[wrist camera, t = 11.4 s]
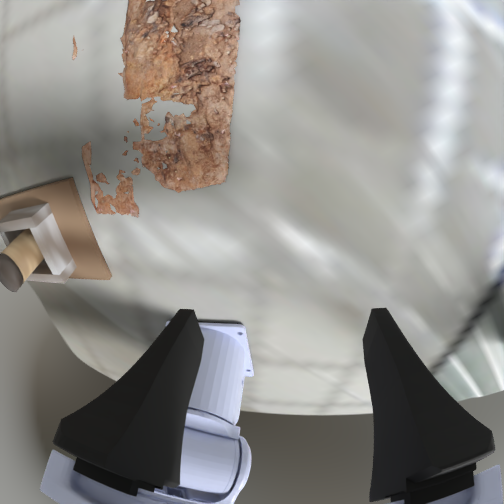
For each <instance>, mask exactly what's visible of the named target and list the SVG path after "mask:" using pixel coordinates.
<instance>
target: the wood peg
mask: <svg viewBox="0 0 504 504" xmlns="http://www.w3.org/2000/svg"><path fill="white" fill-rule="evenodd" d="M43 259H44V257H43V255H42V253H41V251H40V249H39V247H38V245H37V243H36V241H35V238H34V236H33V234H32V232H31V230H30V228H28V229H25V230H24V231H23V232H22V233H21V234H20V235H19V236H17V237H16V238H15V239H14V240H13V241H12V242H11V243H10V244H9V245H8V246H7V247H6V248H5V249H4V250H3V251H2V252H1V254H0V282H1V283H2V284H3V285H4V286H5V287H6V288H7V289H9V290H10V291H12V292H16V291H17V290H18V289H19V288H20V287H21V285H22V284H23V283H24V282H25V280H26V279H27V278H28V277H29V276H30V274H31V273H32V272H33V271H34V270H35V268H36V267H37V266H38V265H39V264H40V263H41V262H42V260H43Z"/></svg>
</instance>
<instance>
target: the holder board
mask: <svg viewBox="0 0 504 504" xmlns="http://www.w3.org/2000/svg"><path fill="white" fill-rule="evenodd" d="M28 228H30V230H31V232H32V234H33V236H34V238H35V241H36V243H37V245H38V247H39V249H40V251H41V253H42V255H43V257H44V259H43V260H42V262H41V263H40V264H39V265H38V266H37V267H36V268H35V270H34V271H33V272H32V273H31V274H30V276H29V277H28V278H27V279H26V280H28V281H40V282H52V283H65V282H66V281H67V279H68V278H75V279H97V280H110V278H111V277H112V275H111V273H110V270H109V268H108V266H107V264H106V262H105V260H104V257H103V255H102V253H101V251H100V248H99V246H98V244H97V241H96V239H95V236H94V234H93V232H92V229H91V227H90V224H89V222H88V219H87V216H86V214H85V211H84V208H83V206H82V203H81V200H80V197H79V194H78V192H77V189H76V186H75V183H74V180H73V177H72V178H68V179H64V180H61V181H57V182H53V183H49V184H46V185H42V186H39V187H35V188H32V189H29V190H26V191H22V192H19V193H16V194H13V195H10V196H7V197H4V198H1V199H0V234H1V236H2V238H3V240H4V242H5V244H6V246H8V245H9V244H10V243H11V242H12V241H13V240H14V239H15V238H16V237H17V236H19V235H20V234H21V233H22V232H23V231H24V230H25V229H28Z"/></svg>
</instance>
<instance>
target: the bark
mask: <svg viewBox="0 0 504 504" xmlns="http://www.w3.org/2000/svg"><path fill="white" fill-rule="evenodd" d="M237 5H240V3H239V0H155V1H151V0H150V1H147V2H146V0H129V4H128V10H127V14H126V23H125V28H124V34H123V37H122V38H121V37H120V38H121V41H122V44H123V47H124V50H123V49H122V50H123V54H122V58H123V62H124V65H125V68H124V70H123V73H118V74H119V75H121V76H122V77H123V83H124V88H125V89H124V90H125V92H124V98H126V99H127V100H129V99H138V98H139V96H140V98H141V101H142V100H144V99H146V98H147V97H148V98H152V99H151V100H150V101H149V102H146V103H144V104H142V109H141V118H140V126H141V136H142V141H140V142H133V149H134V150H139V151H140V152H141V153H142V154H143V157H142V165H143V167H146V168H147V169H148V170H150V171H151V172H152V173H153V174H154V175H155V179H156V181H159V182H160V184H161V185H162V186H163V187H165V188H168V187H169V188H168V189H172V190H173V189H174V190H175V191H177V192H178V193H179V192H181V191H183V190H184V191H186V190H190V189H192V190H194V189H196V188H201V187H202V188H203V187H205V186H209V185H216V184H221V183H222V182H226V181H225V179H226V175H228V168H229V167H228V163H227V162H229V160H228V156H229V154H228V153H229V149H230V139H231V138H230V134H231V133H230V129H229V126H230V121H231V117H232V112H233V110H232V104H233V100H234V99H233V96H234V84H235V82H234V74H235V73H236V72H235V69H234V68H235V67H236V66H237V63H236V62H234V61H235V60H236V58H237V51H238V42H237V40H239V31H240V30H239V27H240V24H239V23H240V22H241V20H240V17H239V16H238V15H237V14H236V13H235V6H237ZM173 25H175V27H176V29H177V30H178V32H176V33H173V32H170V31H171V29H172V27H173ZM166 31H168V32H169V33H168V35H169V37H168V38H167V34H166V33H165V32H166ZM223 35H224V36H223ZM173 38H175V39H174V40H172V39H173ZM164 40H165V41H166V42H164ZM171 40H172V41H174V42H171ZM73 44H74V52H73V57H72V58H73V60H74V59H75V58H76V56H77V47H76V42H75V38H74V37H73ZM173 87H175V88H173ZM174 93H179V94H176V95H175V94H174ZM157 96H159V97H161V100H162V101H166V100H173V102H175V101H176V102H182V103H183V104H194V106H195V108H196V110H194V111H192V112H191V115H190V117H185V115H184V113H183V114H181V115H180V116H178V115H175V116H174V117H173V116H172V115H171V114H170V112H168V113H167V114H166V116H165V121H166V123H165V126H164V130H163V131H161V132H165V133H166V134H167V137H165V138H164V139H162V140H158V141H151V140H144V133H149V132H150V131H151V130H152V129H153V127H150V126H148V125H149V121H148V119H147V117H146V115H145V114H147V113H149V112H150V111H151V110H152V106H153V104H154V103H156V102H157V101H155V100H154V98H153V97H157ZM181 96H182V97H181ZM153 111H154V110H153ZM149 119H150V118H149ZM186 119H187V120H188V121H190V122H191V124H186ZM150 120H151V121H153V120H152V119H150ZM133 122H134V123H135V125H136V126H139V124H138V122H137V120H136V119H134V121H133ZM153 122H154V121H153ZM173 122H174V126H172V125H171V124H172V123H173ZM159 125H160V124H159V123H158V125H157V126H159ZM127 132H129V131H127ZM124 141H126V143H127V137H125V136H124ZM167 150H168V151H167ZM165 151H167V154H166V153H165ZM127 152H128V151H127V150H126V151H125V152H124V153H123V154H122V155H124V156H126V155H127ZM82 158H83V161H84V165H85V168H86V171H87V175H88V178H89V181H90V184H91V200H92V203H93V205H94V207H95V209H96V206H95V197H96V198H97V200H98V207H97V209H96V212H97V214H98V213H99V214H100V213H102V214H107V213H109V214H111V215H112V214H114V213H115V212H113V211H112V210H111V208H110V204H111V205H113V206H114V207H115V209H116V212H118V213H120V214H121V215H124V214H127V215H128V214H131V216H134V217H135V216H136V217H137V218H138V214H139V208H138V206H137V205H136V203H135V202H134V197H133V187H132V185H133V181H132V178H131V177H130V178H129V177H128V178H125V177H124V176H123V175H122V174H121V173H125V171H122V170H119V174H118V175H117V179H118V180H121V182H120V183H119V185H118V186H117V188H116V193H117V195H116V198H114V199H113V197H112V196H110V195H106V196H104V197H103V191H102V190H101V189H100V187H99V185H98V184H97V183H96V182H95V181H94V180H93V175H92V172H91V169H90V166H89V165H91V141H90V142H88V143H87V144H86V145H84V146H83V147H82ZM134 161H137V162H138V163H139V161H138V158H135V160H134ZM162 162H163V163H165V164H167V168H166V169H163V166H162ZM157 167H159V168H160V169H159V170H158V168H157ZM131 173H132V174H133V175H139V173H140V169H138V168H137V167H136V169H135V170H133V171H132V172H131ZM96 179H97V181H99V182H105V183H107V184H110V183H108V182H107V181H106V177H105V175H104V174H103V173H100V174H98V175H96ZM95 191H98V194H97V195H95ZM125 192H129V193H128V194H125ZM115 214H116V213H115Z"/></svg>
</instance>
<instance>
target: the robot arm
mask: <svg viewBox="0 0 504 504" xmlns="http://www.w3.org/2000/svg"><path fill="white" fill-rule="evenodd" d="M165 326H166V327H165V329H164V330H163V331H162V333H161V334H160V335H159V336H158V338H157V339H156V340H155V341H154V342H153V344H152V345H151V346H150V347H149V349H148V350H147V351H146V352H145V353H144V354H143V355H142V357H141V358H140V359H139V360H138V361H137V362H136V363H135V364H134V365H133V366H132V367H131V368H130V369H129V370H128V371H127V372H126V373H125V374H124V375H123V376H122V377H121V378H120V379H119V380H118V381H117V382H116V383H115V384H114V385H112V386H111V387H110V388H109V389H108V390H106V391H105V392H104V393H102V394H101V395H100V396H99V397H97V398H96V399H94V400H93V401H91V402H90V403H88V404H87V405H86V406H84V407H82V408H81V409H79V410H77V411H76V412H74V413H72V414H70V415H68V416H67V417H65V418H63V419H61V422H60V424H59V427H58V429H57V432H56V434H55V437H54V440H53V443H54V444H55V445H56V446H58V447H60V448H61V449H63V450H65V451H67V452H68V453H70V454H72V455H74V456H76V457H77V459H76V461H74V460H72V459H70V458H68V457H66V456H64V455H62V454H61V453H59V452H57V451H55V450H52V452H51V455H50V458H49V461H48V464H47V467H46V471H45V473H44V476H43V480H42V483H41V486H40V490H41V491H42V492H43V493H45V494H46V495H47V496H49V497H50V498H52V499H53V500H55V501H56V502H58V503H59V504H234V501H235V499H236V497H237V495H238V494H239V492H240V491H241V489H243V487H244V485H245V483H246V482H247V479H248V476H249V472H250V467H251V451H250V447H249V445H248V444H247V441H246V440H245V438H243V437H241V436H239V434H240V427H237V426H235V425H236V423H237V421H238V418H239V413H240V407H241V400H242V393H243V386H244V379H245V376H247V377H251V376H253V375H254V370H253V365H252V360H251V355H250V350H249V345H248V339H247V334H246V329H245V326H244V325H242V324H221V323H199V322H198V320H197V318H196V315H195V312H194V310H191V309H180V310H179V311H178V312H177V313H176V315H175V316H174V317H173V318H172V320H171V321H167V322H166V324H165ZM363 349H364V361H365V367H366V372H367V378H368V383H369V389H370V394H371V400H372V406H373V415H374V456H373V471H372V480H371V488H370V502H373V501H379V500H384V499H389V498H391V503H386V504H503V494H502V480H501V471H500V465H499V464H498V465H496V466H494V467H492V468H490V469H487V470H486V471H483V472H481V473H479V474H477V475H474V476H473V471H474V470H476V462H477V461H480V460H481V459H483V458H485V457H487V456H489V455H490V454H492V453H494V451H495V445H494V439H493V434H492V431H491V430H490V429H488V428H487V427H486V426H484V425H483V424H481V423H480V422H479V421H478V420H476V419H475V418H474V417H473V416H471V415H470V414H469V413H468V412H467V411H466V410H465V409H464V408H463V407H462V406H461V405H459V403H457V402H456V401H455V400H454V399H453V398H452V397H451V396H450V395H449V394H448V392H447V391H446V390H445V389H444V388H443V387H442V386H441V385H440V384H439V382H438V381H437V380H436V379H435V378H434V376H433V375H432V374H431V373H430V371H429V370H428V369H427V368H426V366H425V365H424V363H423V362H422V361H421V359H420V358H419V357H418V355H417V354H416V352H415V351H414V350H413V348H412V347H411V345H410V344H409V342H408V341H407V339H406V338H405V336H404V335H403V333H402V332H401V330H400V329H399V327H398V325H397V324H396V322H395V321H394V319H393V317H392V316H391V314H390V313H389V311H388V310H387V309H386V308H375V309H372V310H371V314H370V317H369V320H368V324H367V327H366V331H365V334H364V337H363Z"/></svg>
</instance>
